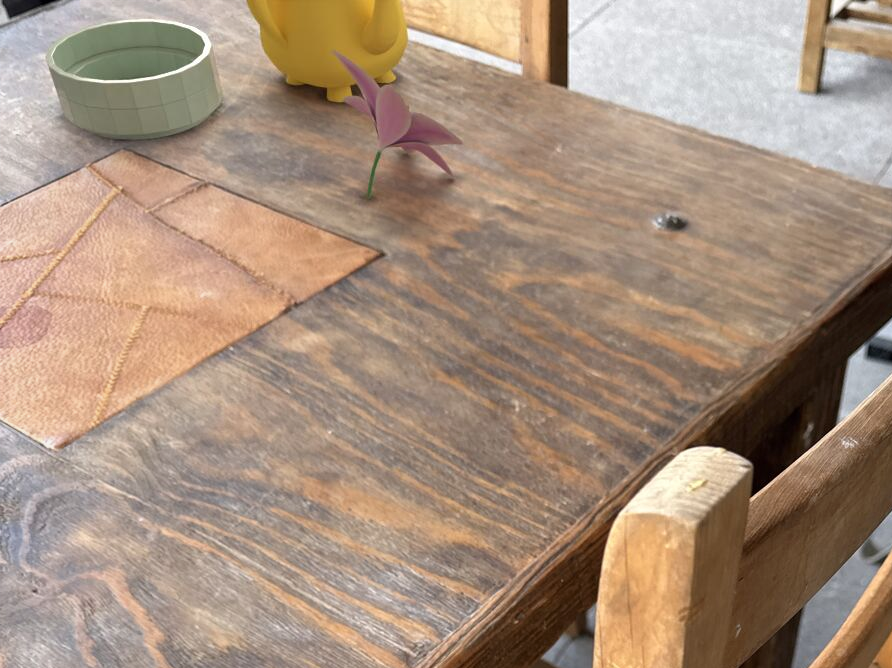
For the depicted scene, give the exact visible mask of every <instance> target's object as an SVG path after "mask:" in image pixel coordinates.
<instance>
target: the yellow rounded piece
mask: <svg viewBox="0 0 892 668" xmlns="http://www.w3.org/2000/svg"><path fill="white" fill-rule="evenodd" d="M246 4H247V7H248V9H249V11H250V14H251V15H252V17H253V18H254V20H255V21H256V23H257V24H258V25H259V36H260V42H261V47H262V49H263V52H264V54H265V55H266V57H267V58H268V60H270V62H271V63H272V64H273V65H274V66H275V68H276V70H278V71H279V72H281V74H283V75H285V76H286V79H285V82H286V83H287V84H288V85H291V86H304V85H306V84H307V85H310V86H315V87H320V88H326V99H327V100H328V101H329V102H333V103H345V102H344V101H343V98H344V97H347V96H353V93H352V88H351V86H354V85H357V83H356V82H355V80H354V78H353V77H352V75H351V74H350V73H349V72H348V70H347V69H346V68H345V67H344V65H343V64H342V63H341V62H340V61H339V59H338V58H337V57H336V56H335V55H334V53H333V52H332V50H335V51H337V52H339V53H340V54H342V55H344V56H345V57H347V58H348V59H350V60H351V61H352V62H354V63H355V64H356V65H358V66H359V67H360V68H362V69H363V70H364V71H365V72H366V73H367V74H368V75H370V76H371V77H372V78H373V79H374V81H375V82H376V83H377V84H388V83H392V82H394V81H395V80H396V79H397V77H396V75H395V74H394V72H393V71H392V70H393V69H394V68H395V67H396V66H398V64H399V63H400V61H401V59H402V57H403V56H404V53H405V51H406V48H407V46H408V41H409V34H408V26H407V21H406V18H405V17H406V16H405V13H404V10H403V7H402V3H401V1H400V0H246ZM331 49H332V50H331Z"/></svg>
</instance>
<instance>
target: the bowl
mask: <svg viewBox="0 0 892 668" xmlns="http://www.w3.org/2000/svg"><path fill="white" fill-rule="evenodd" d="M44 58H45V61H46V64H47V68H48V70H49V73H50V76H51V80H52V83H53V85H54V89H55V92H56V94H57V98H58V102H59V104H60V107H61V110H62V113H63V116H64V118H66V120H67V121H69V122H71V124H73V125H74V126H76V127H78V128H81V129H84V130H86V131H88V132H89V133H92V134H94V135H96V136H97V135H98V136H100V137H104V138H108V139H116V140H134V141H136V140H149V139H150V140H151V139H159V138H163V137H169V136H172V135H176V134H179V133H182V132H185V131H188V130H191V129H193V128H195V127H196V126H198V125H200V124H202V123H203V122H204V121H206V119H208V118H209V117H210V116H211V114H212V113H213V112H214V111H215V110H216V109H217V108H219V106H221V103H222V99H223V89H222V83H221V79H220V75H219V70H218V66H217V61H216V57H215V52H214V48H213V44H212V42H211V40H210V38H209V36H208V34H206V33H205V32H204V31H201V30H200V29H198V28H197V27H195V26H192V25H188V24H184V23H181V22H178V21H173V20H172V21H171V20H164V19H151V18H150V19H149V18H148V19H145V18H144V19H143V18H141V19H121V20H116V21H106V22H102V23H98V24H94V25H90V26H87V27H82V28H79V29H78V30H75V31H72V32H71V33H68V34H66V35H63V36H62V37H60V38H59V39H58V40H57V41H55V42H54V43H52V44H51V45H50V46H49V48H48V50H47V52H46V54H45V56H44Z"/></svg>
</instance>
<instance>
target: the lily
mask: <svg viewBox="0 0 892 668" xmlns="http://www.w3.org/2000/svg"><path fill="white" fill-rule="evenodd" d="M331 50H332V49H331ZM332 52H333V53H334V55H335V56H336V57H337V58H338V59H339V61H340V62H341V63H342V64H343V65H344V67H345V68H346V69H347V70H348V72H349V73H350V74H351V75H352V77H353V78H354V80H355V82H356V83H357V84H356V85H357V87H358V88H359V90H360V92H361V94H362V96H363V98H362V97H361V96H358V95H352V96H347V97H344V98H343V101H344V102H343V103H345V104H347V105H349V106H351V107H353V108H355V109H356V110H358V111H360V112H362V113H363V114H365V115H366V116H368V117H369V118H371V119H372V121H373V125H374V127H375V130H376V131H375V132H376V134H377V137H378V142H379V145H378V150H377V153H376V155H375V158H374V161H373V165H372V168H371V172H370V177H369V182H368V186H367V193H366V198H368V199H371V197H372V196H371V195H372V190H373V184H374V179H375V174H376V170H377V166H378V162H379V160H380V157H381V155H382V153H383V151H384V150H385V149H387V148H401V150H402V151H403V152H404V153H406V154H413V153H415V152H417V151H418V152H419V153H421V154H422V155H424V156H425V157H427V158H428V159H429V160H431V161H432V162H433V163H434V164H436V166H438V167H439V168H441V170H443V171H444V172H445V173H446V174H447V175H449V176H450V177H451V178H452V179H455V176H454V173H453V171H452V170H451V169H450V167H449V165H448V163H446V161H445V159H444V158H443V157H442V155H440V153H438V152H437V150H436V149H434V148H433V147H437V146H445V145H458V146H460V145H464V143H463V141H462V140H461V139H460V138H459V136H457V135H456V134H454V133H453V132H452V131H451V130H449V129H448V128H447V127H446V126H444V125H443V124H442V123H440V122H439V121H436V120H435V119H434V118H432V117H430V116H427V115H426V114H423V113H421V112H416V111H413V110H412V111H410V108H411V107H410V105H409V104H408V105H407V103H406V102H405V100H404V99H403V97H402V96H401V95H400V93H399V92H398V91H397V90H396V89H395V88H394V87H393V86H392V85H390V84H384V85H382V86H381V87H380V86H379V84H378V83H377V82H375V81H374V79H373V78H372V77H371V76H370V75H368V74H367V73H366V72H365V71H364V70H363V69H362V68H360V67H359V66H358V65H356V64H355V63H354V62H352V61H351V60H350V59H348V58H347V57H345V56H344V55H342V54H340V53H339V52H337V51H335V50H332Z"/></svg>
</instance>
